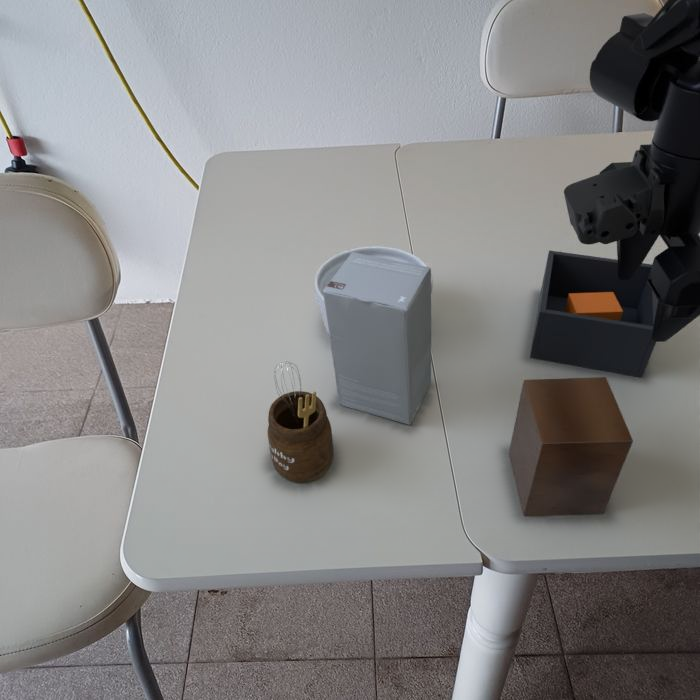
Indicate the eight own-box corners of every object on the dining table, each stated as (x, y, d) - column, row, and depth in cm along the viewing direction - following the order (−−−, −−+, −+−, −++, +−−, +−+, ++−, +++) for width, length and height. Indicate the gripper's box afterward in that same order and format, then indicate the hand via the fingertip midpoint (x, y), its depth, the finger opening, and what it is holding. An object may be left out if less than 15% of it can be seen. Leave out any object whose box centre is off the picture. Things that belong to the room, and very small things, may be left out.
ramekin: (294, 331, 76) (289, 283, 71) (366, 278, 83) (365, 232, 79) (382, 381, 69) (382, 332, 65) (452, 319, 77) (456, 272, 72)
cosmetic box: (431, 386, 69) (440, 263, 58) (407, 433, 64) (411, 309, 53) (359, 364, 72) (354, 243, 61) (330, 409, 67) (320, 286, 56)
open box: (640, 310, 77) (656, 264, 72) (642, 377, 68) (660, 330, 64) (539, 295, 79) (549, 250, 75) (529, 358, 71) (539, 311, 67)
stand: (581, 450, 62) (606, 376, 55) (603, 514, 57) (633, 440, 50) (508, 453, 62) (523, 379, 55) (523, 516, 57) (542, 443, 50)
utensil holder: (317, 427, 65) (307, 338, 57) (346, 471, 61) (340, 382, 53) (263, 450, 63) (245, 361, 55) (289, 497, 59) (273, 409, 51)
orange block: (605, 319, 75) (613, 291, 72) (614, 339, 72) (623, 311, 70) (561, 320, 75) (568, 293, 72) (569, 340, 72) (576, 313, 70)
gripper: (555, 102, 56) (530, 255, 66) (624, 209, 42) (579, 382, 52) (685, 97, 56) (640, 251, 66) (799, 202, 42) (718, 377, 52)
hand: (640, 308), depth 59 cm, fingers open, 9 cm apart
